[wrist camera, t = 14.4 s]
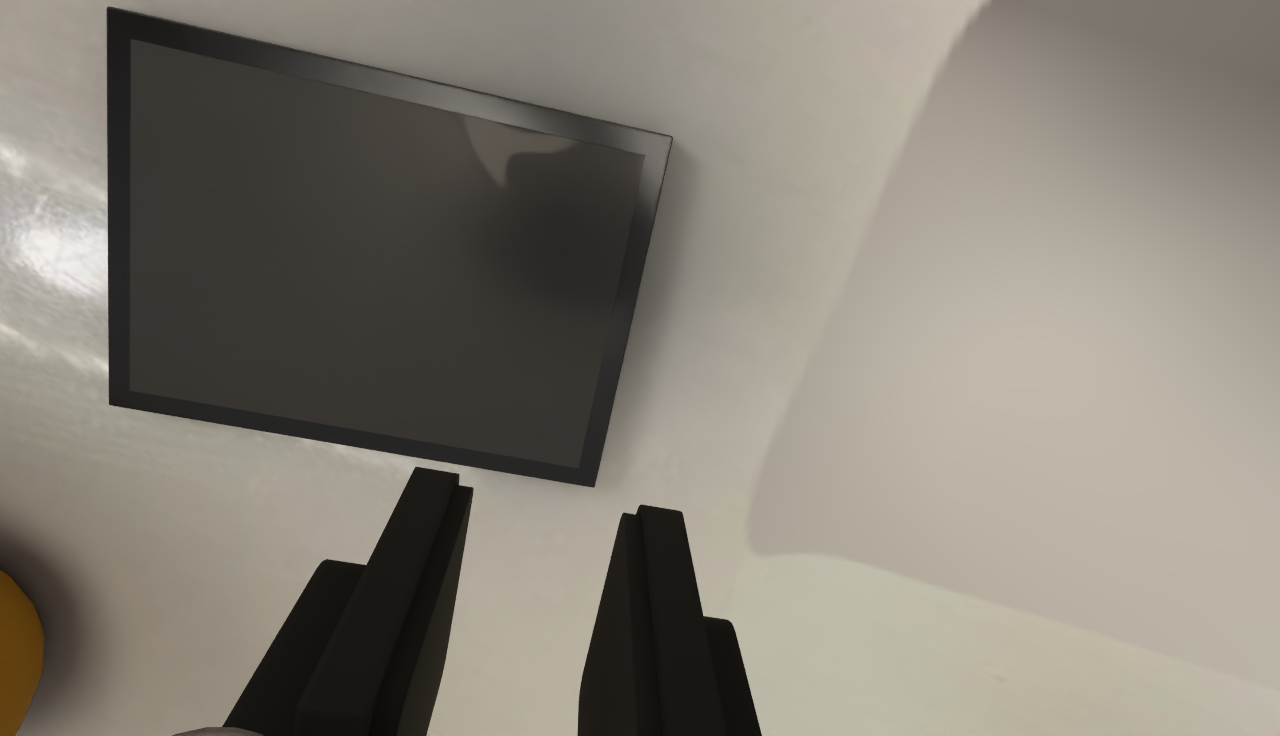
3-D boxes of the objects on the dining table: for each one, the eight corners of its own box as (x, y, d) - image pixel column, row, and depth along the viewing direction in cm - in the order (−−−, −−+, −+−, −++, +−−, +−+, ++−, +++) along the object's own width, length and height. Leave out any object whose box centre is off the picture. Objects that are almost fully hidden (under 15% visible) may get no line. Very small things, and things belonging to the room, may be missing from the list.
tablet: (127, 10, 21) (103, 5, 20) (670, 135, 23) (673, 136, 22) (126, 394, 25) (106, 406, 24) (594, 475, 27) (594, 489, 26)
